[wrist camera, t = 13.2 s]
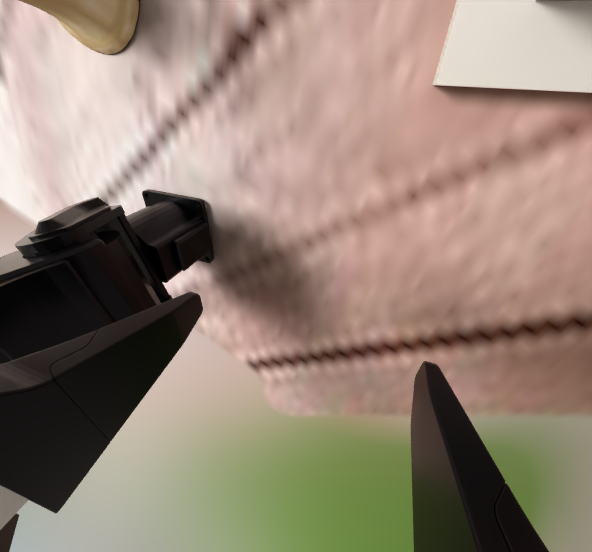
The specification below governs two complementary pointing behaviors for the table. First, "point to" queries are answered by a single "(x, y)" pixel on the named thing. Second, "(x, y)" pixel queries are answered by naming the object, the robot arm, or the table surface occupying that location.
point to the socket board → (519, 45)
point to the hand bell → (95, 21)
